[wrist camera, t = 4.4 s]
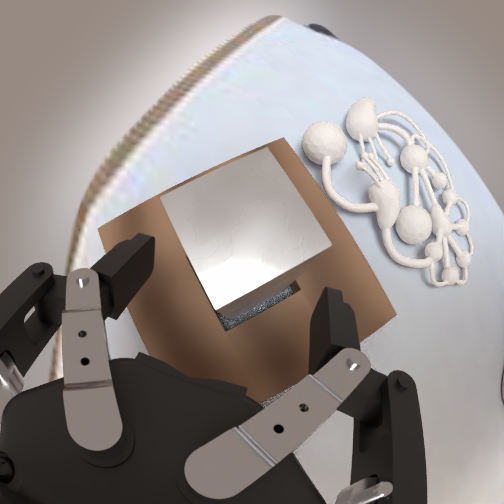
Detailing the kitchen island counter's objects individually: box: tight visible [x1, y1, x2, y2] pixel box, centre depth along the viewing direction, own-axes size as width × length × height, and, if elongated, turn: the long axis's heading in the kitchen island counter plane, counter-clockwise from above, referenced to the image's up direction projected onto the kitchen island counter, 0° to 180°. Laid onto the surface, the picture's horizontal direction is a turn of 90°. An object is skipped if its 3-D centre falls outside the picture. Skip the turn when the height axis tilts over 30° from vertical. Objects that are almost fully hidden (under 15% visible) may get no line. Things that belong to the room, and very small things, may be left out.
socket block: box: [98, 137, 397, 403], centre depth 20 cm, size 16×16×2 cm
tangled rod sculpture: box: [302, 97, 474, 287], centre depth 22 cm, size 19×14×4 cm
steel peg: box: [160, 147, 332, 320], centre depth 15 cm, size 4×4×12 cm
